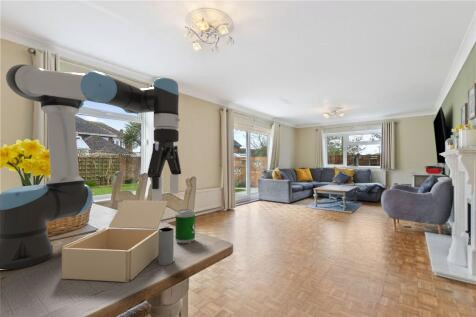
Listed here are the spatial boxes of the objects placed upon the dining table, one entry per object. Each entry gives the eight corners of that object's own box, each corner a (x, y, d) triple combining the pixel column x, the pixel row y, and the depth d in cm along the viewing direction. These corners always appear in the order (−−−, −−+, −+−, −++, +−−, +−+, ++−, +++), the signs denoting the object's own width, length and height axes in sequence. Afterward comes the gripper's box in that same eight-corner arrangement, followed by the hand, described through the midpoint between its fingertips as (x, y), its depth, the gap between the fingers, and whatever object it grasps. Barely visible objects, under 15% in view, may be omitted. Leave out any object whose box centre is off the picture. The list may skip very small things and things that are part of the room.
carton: (58, 279, 63) (58, 248, 63) (105, 251, 83) (105, 227, 83) (129, 283, 61) (129, 251, 61) (161, 253, 81) (161, 229, 81)
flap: (108, 226, 82) (123, 200, 91) (109, 227, 83) (124, 200, 92) (157, 228, 81) (167, 200, 90) (157, 228, 81) (168, 201, 90)
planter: (165, 266, 71) (165, 232, 71) (155, 263, 73) (155, 230, 73) (176, 261, 75) (176, 228, 75) (166, 257, 77) (166, 226, 77)
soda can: (190, 245, 88) (190, 213, 88) (171, 243, 90) (171, 212, 90) (197, 238, 96) (197, 209, 96) (180, 237, 97) (180, 208, 97)
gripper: (161, 122, 61) (161, 204, 61) (189, 133, 86) (189, 191, 86) (133, 123, 62) (133, 203, 62) (169, 133, 87) (169, 191, 87)
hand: (166, 196), depth 74 cm, fingers open, 13 cm apart
